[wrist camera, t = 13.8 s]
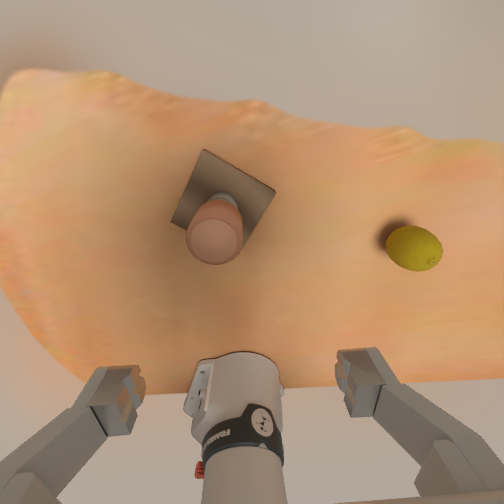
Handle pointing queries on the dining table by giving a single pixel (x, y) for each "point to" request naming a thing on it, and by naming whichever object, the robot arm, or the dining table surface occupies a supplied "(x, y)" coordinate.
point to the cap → (215, 233)
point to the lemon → (414, 248)
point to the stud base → (227, 182)
